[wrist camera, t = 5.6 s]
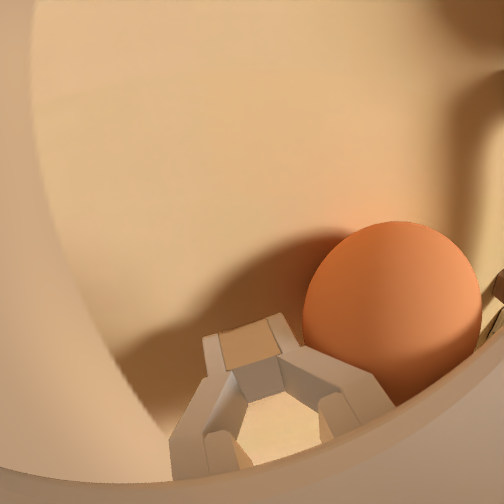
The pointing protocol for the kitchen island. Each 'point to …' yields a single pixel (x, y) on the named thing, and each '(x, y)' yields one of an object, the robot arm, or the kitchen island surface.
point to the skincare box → (497, 324)
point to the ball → (395, 306)
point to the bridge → (499, 287)
